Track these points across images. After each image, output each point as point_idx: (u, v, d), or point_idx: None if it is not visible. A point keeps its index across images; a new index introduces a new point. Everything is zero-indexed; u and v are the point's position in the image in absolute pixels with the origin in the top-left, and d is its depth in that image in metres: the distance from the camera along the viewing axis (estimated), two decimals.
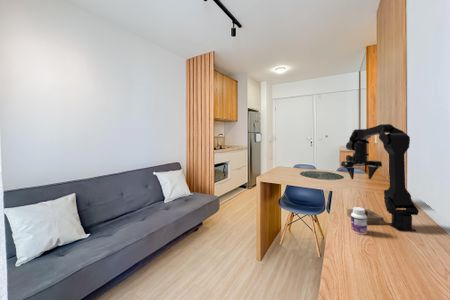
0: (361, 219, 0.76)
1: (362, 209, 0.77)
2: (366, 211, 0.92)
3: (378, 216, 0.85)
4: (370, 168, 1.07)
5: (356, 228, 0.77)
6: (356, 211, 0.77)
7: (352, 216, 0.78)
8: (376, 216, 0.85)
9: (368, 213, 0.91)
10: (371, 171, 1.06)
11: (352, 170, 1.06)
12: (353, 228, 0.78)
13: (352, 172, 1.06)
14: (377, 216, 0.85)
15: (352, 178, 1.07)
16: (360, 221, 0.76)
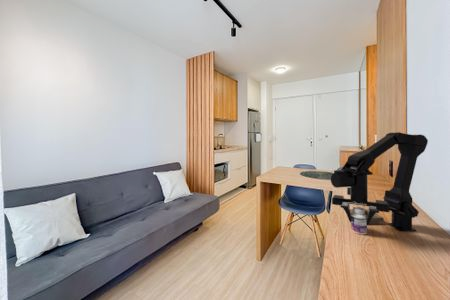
0: (361, 219, 0.76)
1: (362, 209, 0.77)
2: (366, 211, 0.92)
3: (378, 216, 0.85)
4: None
5: (356, 228, 0.77)
6: (356, 211, 0.77)
7: (352, 216, 0.78)
8: (376, 216, 0.85)
9: None
10: (368, 215, 0.75)
11: (346, 210, 0.78)
12: (353, 228, 0.78)
13: (347, 213, 0.79)
14: (377, 216, 0.85)
15: (349, 220, 0.80)
16: (360, 221, 0.76)
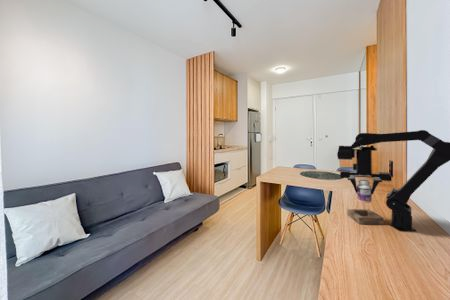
0: (366, 189, 0.86)
1: (367, 180, 0.87)
2: (366, 211, 0.92)
3: (378, 216, 0.85)
4: (373, 181, 0.86)
5: (362, 197, 0.87)
6: (362, 182, 0.87)
7: (358, 187, 0.88)
8: (376, 216, 0.85)
9: (368, 213, 0.91)
10: (372, 185, 0.86)
11: (353, 182, 0.89)
12: (359, 198, 0.88)
13: (354, 184, 0.89)
14: (377, 216, 0.85)
15: None
16: (365, 191, 0.86)
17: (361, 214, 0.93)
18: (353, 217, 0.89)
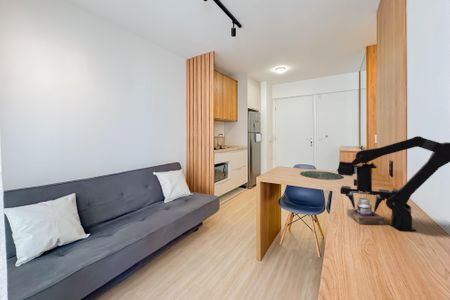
0: (366, 208, 0.86)
1: (367, 199, 0.88)
2: None
3: (378, 216, 0.85)
4: None
5: None
6: (362, 201, 0.88)
7: (358, 206, 0.89)
8: (376, 216, 0.85)
9: None
10: (375, 203, 0.86)
11: (351, 198, 0.90)
12: None
13: (351, 200, 0.90)
14: (377, 216, 0.85)
15: (353, 207, 0.91)
16: (365, 210, 0.87)
17: None
18: (353, 217, 0.89)
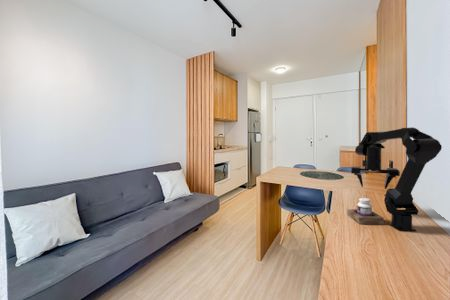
0: (366, 208, 0.86)
1: (367, 199, 0.88)
2: None
3: (378, 216, 0.85)
4: (386, 177, 0.93)
5: None
6: (362, 201, 0.88)
7: (358, 206, 0.89)
8: (376, 216, 0.85)
9: None
10: (386, 181, 0.92)
11: (359, 177, 0.97)
12: None
13: (360, 179, 0.97)
14: (377, 216, 0.85)
15: None
16: (365, 210, 0.87)
17: None
18: (353, 217, 0.89)
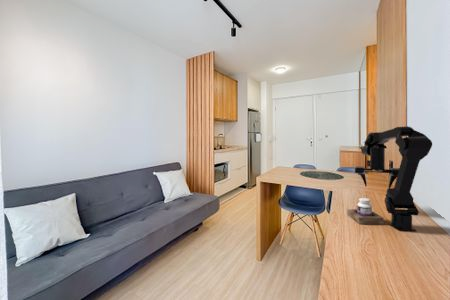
0: (366, 208, 0.86)
1: (367, 199, 0.88)
2: None
3: (378, 216, 0.85)
4: (390, 176, 0.94)
5: None
6: (362, 201, 0.88)
7: (358, 206, 0.89)
8: (376, 216, 0.85)
9: None
10: (389, 180, 0.93)
11: (363, 176, 0.98)
12: None
13: (363, 179, 0.99)
14: (377, 216, 0.85)
15: (365, 185, 1.00)
16: (366, 210, 0.87)
17: None
18: (353, 217, 0.89)
